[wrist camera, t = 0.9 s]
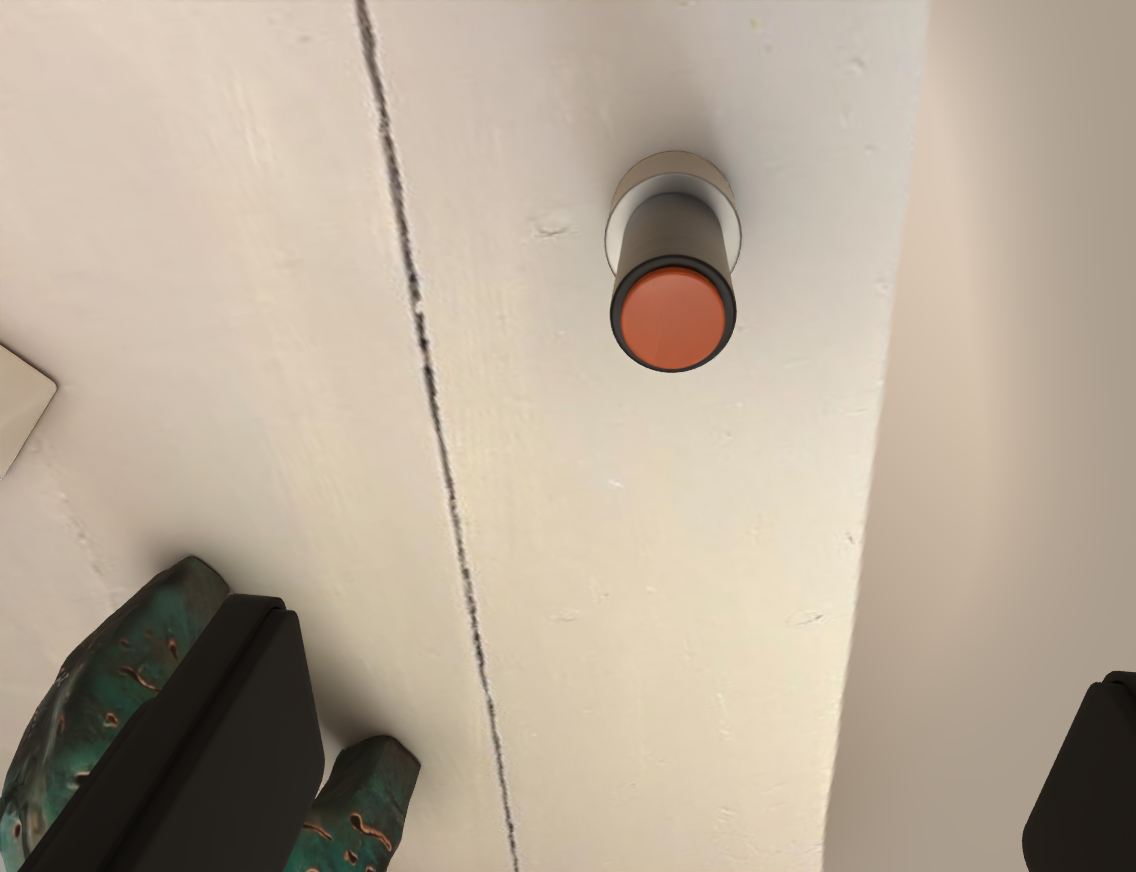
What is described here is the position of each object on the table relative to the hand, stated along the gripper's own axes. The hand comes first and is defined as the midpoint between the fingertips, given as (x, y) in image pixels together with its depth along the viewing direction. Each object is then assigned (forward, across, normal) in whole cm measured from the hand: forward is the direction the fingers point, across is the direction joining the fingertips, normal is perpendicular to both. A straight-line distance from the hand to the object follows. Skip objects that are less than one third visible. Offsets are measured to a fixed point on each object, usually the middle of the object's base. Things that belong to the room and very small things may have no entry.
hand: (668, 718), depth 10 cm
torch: (+23, 0, 0) cm, 23 cm away
